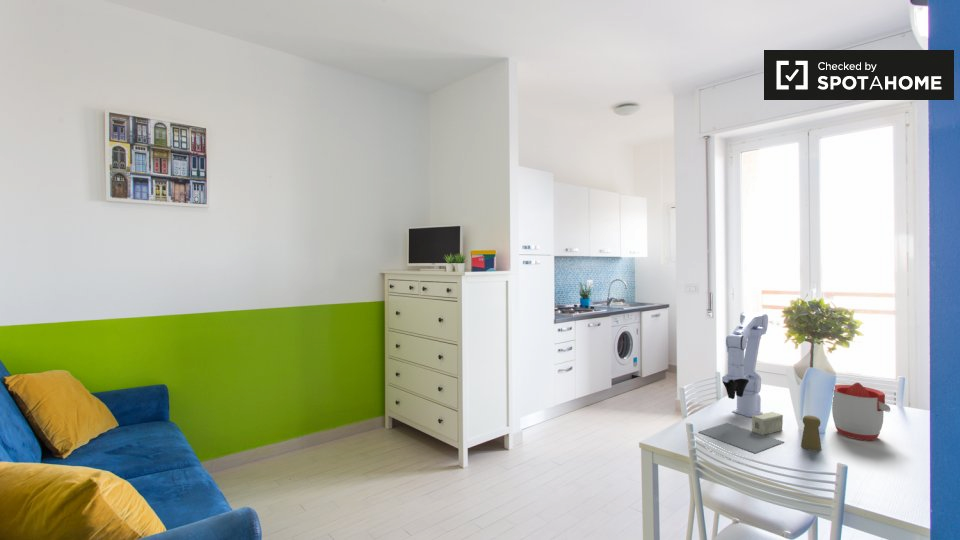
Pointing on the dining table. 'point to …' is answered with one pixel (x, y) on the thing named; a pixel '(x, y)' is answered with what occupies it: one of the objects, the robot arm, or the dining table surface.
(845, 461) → the dining table surface
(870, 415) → the citrus juicer
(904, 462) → the dining table surface
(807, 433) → the cork
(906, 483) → the dining table surface
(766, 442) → the mat
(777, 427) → the skincare box
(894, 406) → the dining table surface
